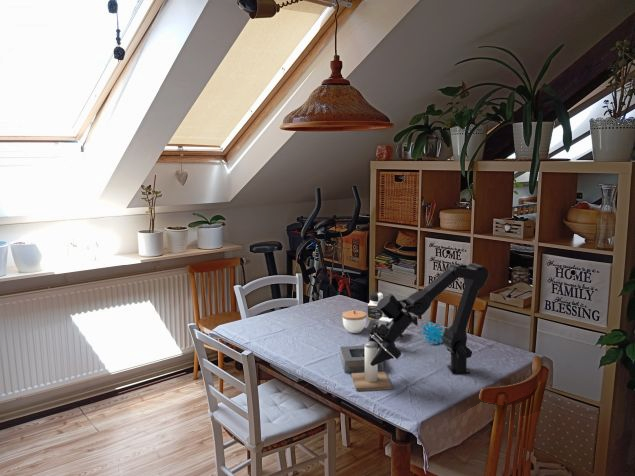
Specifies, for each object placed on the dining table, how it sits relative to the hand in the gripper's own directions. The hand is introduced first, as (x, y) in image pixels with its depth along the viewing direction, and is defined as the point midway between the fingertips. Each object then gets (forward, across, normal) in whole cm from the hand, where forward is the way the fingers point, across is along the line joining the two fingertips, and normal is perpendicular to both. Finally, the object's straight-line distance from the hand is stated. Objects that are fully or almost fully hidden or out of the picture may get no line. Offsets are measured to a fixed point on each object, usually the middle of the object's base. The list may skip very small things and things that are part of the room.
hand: (367, 360), depth 184 cm
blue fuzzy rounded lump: (-22, -29, +34) cm, 50 cm away
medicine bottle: (-14, -66, +26) cm, 73 cm away
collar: (+3, -16, +8) cm, 18 cm away
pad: (+5, 0, +7) cm, 8 cm away
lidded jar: (-3, -52, +15) cm, 54 cm away
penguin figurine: (-13, -39, +25) cm, 48 cm away
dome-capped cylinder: (+4, 0, +6) cm, 7 cm away
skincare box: (-7, -28, +19) cm, 35 cm away
